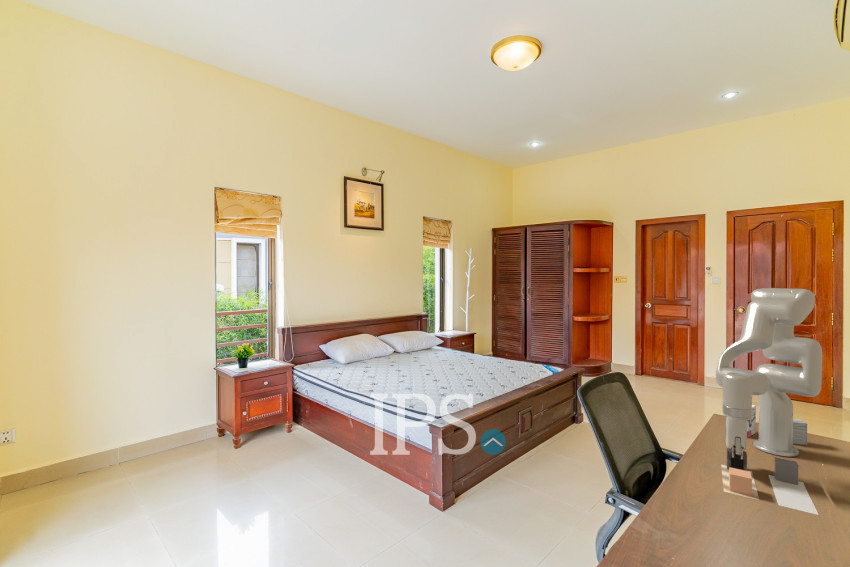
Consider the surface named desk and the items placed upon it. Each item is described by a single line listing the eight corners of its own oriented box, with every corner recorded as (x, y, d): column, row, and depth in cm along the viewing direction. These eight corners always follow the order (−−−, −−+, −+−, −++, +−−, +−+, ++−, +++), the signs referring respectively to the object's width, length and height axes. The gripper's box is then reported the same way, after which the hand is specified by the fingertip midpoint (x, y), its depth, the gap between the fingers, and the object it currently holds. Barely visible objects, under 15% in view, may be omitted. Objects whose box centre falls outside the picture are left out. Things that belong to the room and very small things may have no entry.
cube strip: (721, 468, 131) (721, 446, 131) (751, 474, 126) (752, 452, 126) (723, 495, 115) (723, 471, 115) (759, 504, 110) (759, 479, 110)
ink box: (748, 438, 155) (748, 408, 155) (733, 434, 159) (733, 405, 159) (756, 433, 160) (756, 404, 159) (741, 429, 164) (741, 401, 164)
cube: (728, 483, 119) (729, 467, 119) (750, 488, 116) (750, 471, 116) (729, 490, 115) (730, 473, 115) (751, 496, 112) (752, 478, 112)
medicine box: (800, 441, 152) (800, 419, 152) (807, 445, 148) (807, 423, 148) (775, 438, 155) (775, 416, 154) (781, 443, 150) (781, 420, 150)
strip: (768, 478, 124) (768, 456, 124) (802, 486, 120) (803, 462, 119) (778, 509, 108) (778, 483, 108) (818, 519, 103) (819, 492, 103)
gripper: (721, 402, 136) (721, 454, 136) (723, 416, 123) (723, 474, 123) (749, 406, 132) (748, 460, 132) (754, 421, 118) (754, 481, 119)
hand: (736, 466), depth 128 cm, fingers open, 3 cm apart
